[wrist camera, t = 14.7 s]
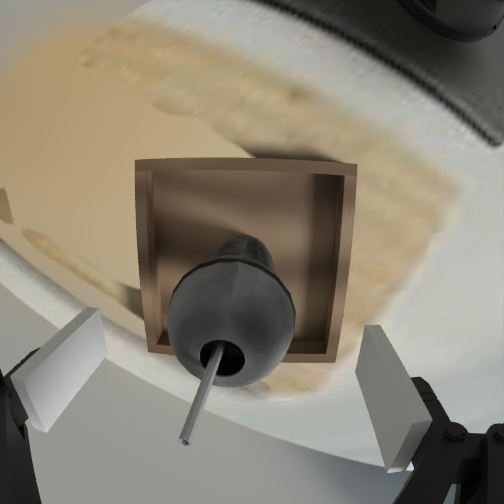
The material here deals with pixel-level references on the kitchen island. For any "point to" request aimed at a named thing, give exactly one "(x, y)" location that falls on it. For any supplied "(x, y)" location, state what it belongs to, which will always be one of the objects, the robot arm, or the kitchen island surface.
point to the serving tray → (249, 224)
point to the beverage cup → (230, 321)
